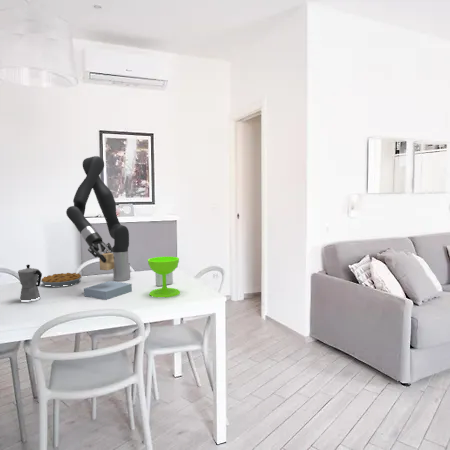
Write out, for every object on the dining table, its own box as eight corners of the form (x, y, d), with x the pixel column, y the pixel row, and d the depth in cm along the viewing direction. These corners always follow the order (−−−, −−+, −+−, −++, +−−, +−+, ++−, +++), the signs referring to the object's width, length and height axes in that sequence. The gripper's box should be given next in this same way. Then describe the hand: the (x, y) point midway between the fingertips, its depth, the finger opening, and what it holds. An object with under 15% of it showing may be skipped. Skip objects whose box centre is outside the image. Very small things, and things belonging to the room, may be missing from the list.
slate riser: (110, 287, 218) (109, 280, 217) (131, 291, 210) (131, 283, 210) (84, 295, 202) (83, 288, 202) (106, 299, 194) (106, 291, 194)
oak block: (107, 267, 207) (106, 252, 206) (114, 268, 205) (113, 253, 204) (100, 269, 203) (99, 254, 202) (107, 270, 200) (106, 255, 200)
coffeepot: (12, 301, 195) (10, 265, 194) (29, 296, 204) (26, 262, 202) (34, 304, 189) (32, 267, 187) (50, 299, 197) (48, 263, 196)
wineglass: (183, 289, 211) (181, 256, 209) (176, 297, 195) (175, 262, 194) (154, 289, 213) (152, 256, 211) (145, 297, 197) (143, 262, 195)
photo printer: (169, 282, 228) (168, 261, 227) (174, 283, 225) (173, 262, 224) (154, 285, 221) (153, 264, 220) (159, 286, 218) (158, 265, 217)
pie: (54, 279, 243) (53, 271, 243) (88, 279, 241) (87, 271, 241) (33, 288, 222) (33, 279, 221) (70, 288, 219) (69, 279, 219)
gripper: (83, 233, 199) (102, 258, 195) (104, 230, 212) (122, 253, 207) (77, 243, 202) (95, 268, 198) (98, 239, 215) (115, 262, 210)
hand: (109, 260), depth 202 cm, fingers closed on oak block, 5 cm apart
